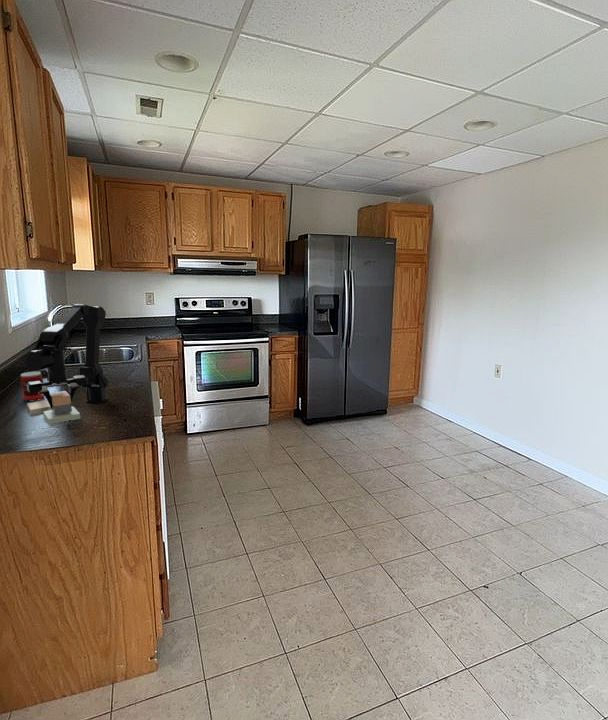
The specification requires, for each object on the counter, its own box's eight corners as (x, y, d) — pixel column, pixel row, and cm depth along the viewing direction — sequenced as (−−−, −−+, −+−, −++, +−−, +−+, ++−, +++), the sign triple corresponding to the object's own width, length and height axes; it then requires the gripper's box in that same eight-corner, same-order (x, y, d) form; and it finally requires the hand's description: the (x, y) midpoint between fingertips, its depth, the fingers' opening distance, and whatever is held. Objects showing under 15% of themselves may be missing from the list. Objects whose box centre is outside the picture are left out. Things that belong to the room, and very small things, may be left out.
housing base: (50, 408, 155) (49, 401, 155) (67, 405, 159) (66, 398, 158) (54, 414, 149) (53, 406, 149) (71, 411, 153) (71, 403, 152)
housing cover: (49, 401, 155) (48, 393, 154) (66, 398, 158) (65, 390, 158) (53, 406, 149) (52, 398, 148) (71, 403, 152) (70, 395, 152)
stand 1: (59, 403, 172) (58, 398, 171) (64, 409, 164) (63, 404, 164) (27, 408, 165) (26, 403, 165) (31, 414, 157) (30, 409, 157)
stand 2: (43, 416, 156) (43, 411, 155) (73, 411, 162) (73, 406, 162) (49, 424, 147) (48, 419, 147) (80, 418, 154) (79, 413, 153)
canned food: (40, 394, 183) (37, 370, 181) (47, 398, 178) (44, 373, 176) (20, 398, 177) (17, 373, 175) (27, 402, 172) (24, 376, 170)
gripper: (79, 358, 163) (83, 396, 166) (22, 364, 151) (27, 405, 154) (86, 362, 154) (90, 403, 157) (26, 369, 143) (32, 413, 146)
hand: (60, 406), depth 154 cm, fingers closed on housing base, housing cover, 5 cm apart
